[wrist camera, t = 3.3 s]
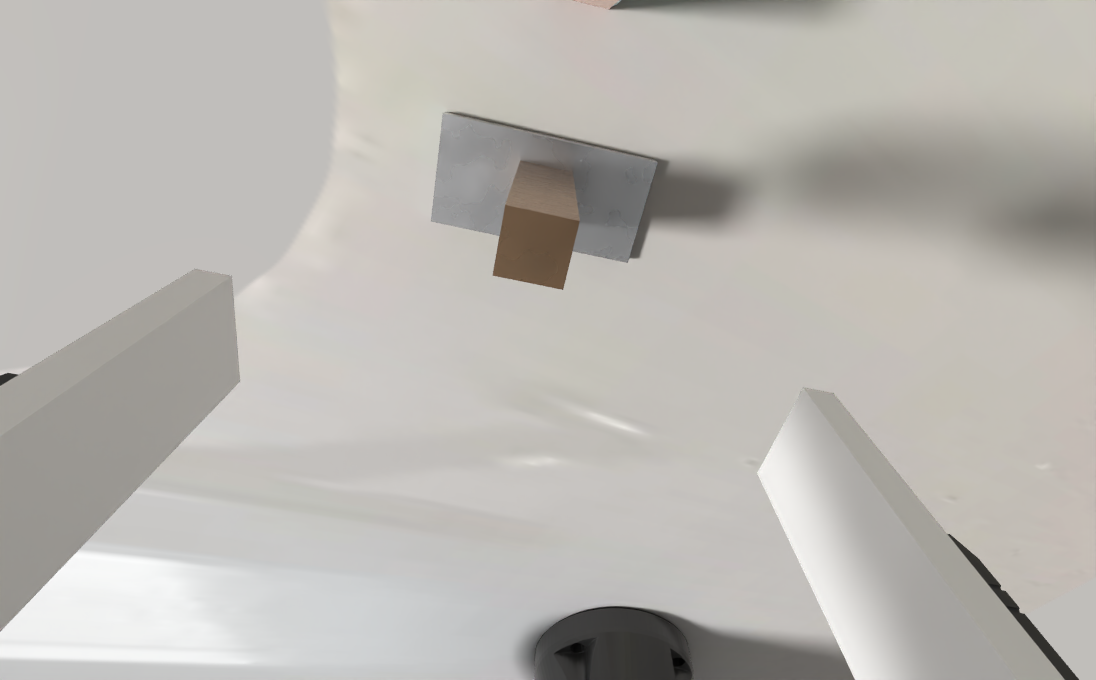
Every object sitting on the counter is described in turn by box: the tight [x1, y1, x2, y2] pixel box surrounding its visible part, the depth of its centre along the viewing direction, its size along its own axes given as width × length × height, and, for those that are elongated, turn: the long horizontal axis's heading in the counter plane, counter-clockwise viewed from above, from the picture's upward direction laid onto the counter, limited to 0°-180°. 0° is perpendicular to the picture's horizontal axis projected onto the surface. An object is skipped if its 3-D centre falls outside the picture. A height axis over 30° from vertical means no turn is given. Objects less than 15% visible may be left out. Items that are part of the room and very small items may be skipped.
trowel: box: [431, 112, 658, 290], centre depth 26 cm, size 12×6×11 cm, turn 78°
